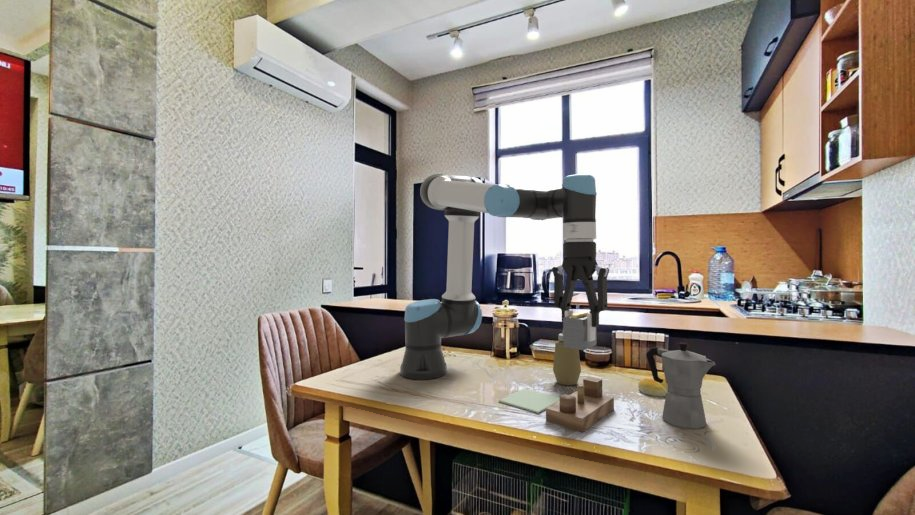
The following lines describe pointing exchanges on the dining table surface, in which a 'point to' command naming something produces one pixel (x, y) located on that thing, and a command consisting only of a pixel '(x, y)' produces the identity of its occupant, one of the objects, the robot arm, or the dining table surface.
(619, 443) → the dining table surface
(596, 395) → the wooden peg board
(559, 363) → the squeeze bottle
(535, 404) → the mat
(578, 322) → the lever cap
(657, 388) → the bread roll
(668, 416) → the coffeepot
